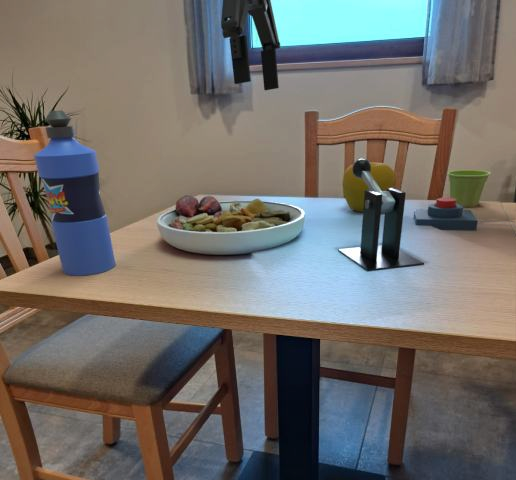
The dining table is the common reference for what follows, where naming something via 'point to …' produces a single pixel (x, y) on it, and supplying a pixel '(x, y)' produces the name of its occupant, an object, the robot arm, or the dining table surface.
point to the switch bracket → (389, 251)
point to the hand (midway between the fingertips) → (258, 86)
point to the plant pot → (467, 186)
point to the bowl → (229, 225)
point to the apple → (357, 186)
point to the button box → (446, 218)
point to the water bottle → (74, 200)
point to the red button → (446, 203)
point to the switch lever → (373, 184)
